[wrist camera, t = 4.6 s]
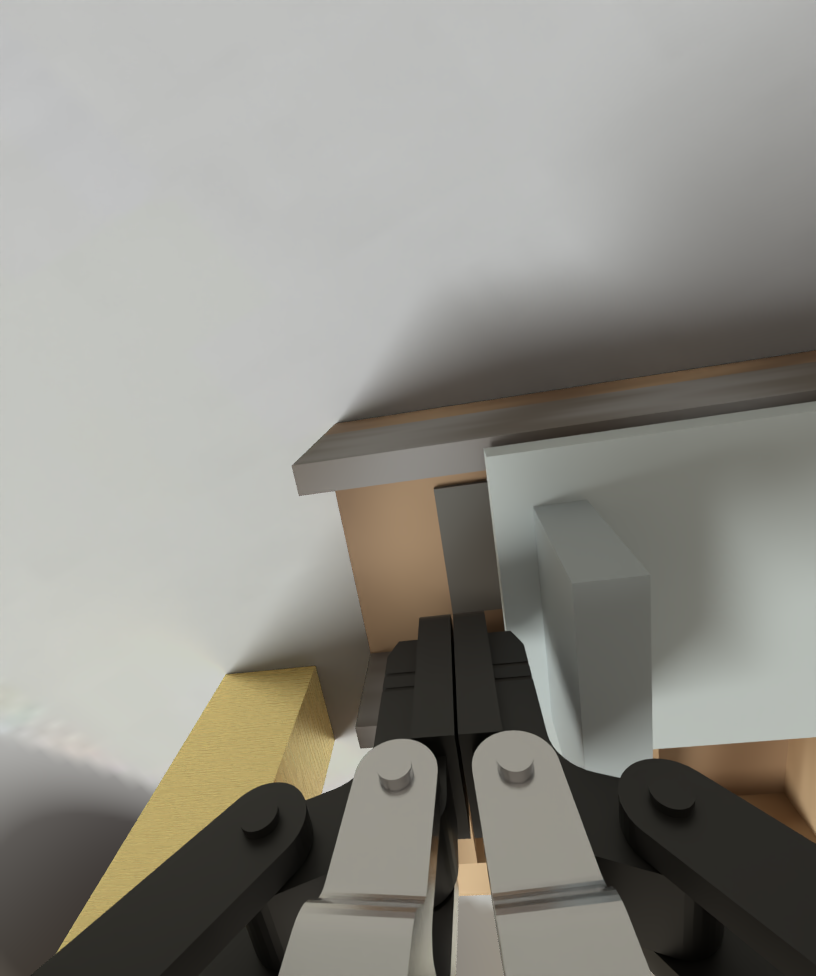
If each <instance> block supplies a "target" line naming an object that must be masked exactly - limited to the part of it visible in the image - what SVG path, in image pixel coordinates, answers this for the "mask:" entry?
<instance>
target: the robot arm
mask: <svg viewBox="0 0 816 976" xmlns="http://www.w3.org/2000/svg"><path fill="white" fill-rule="evenodd" d="M453 630H454V631H453ZM469 806H470V813H471V819H472V826H473V832H474V838H483V844H484V851H485V858H486V864H487V871H488V878H489V885H490V891H491V898H492V904H493V910H494V916H495V923H496V929H497V935H498V942H499V947H500V954H501V960H502V966H503V973H504V976H652V975H651V972H652V973H653V974H654V975H655V976H816V843H814V842H812V841H811V840H809V839H807V838H806V837H804V836H803V835H801V834H799V833H798V832H796V831H794V830H793V829H791V828H789V827H788V826H786V825H785V824H783V823H781V822H780V821H778V820H776V819H775V818H773V817H772V816H770V815H768V814H767V813H765V812H763V811H762V810H760V809H758V808H757V807H755V806H754V805H752V804H750V803H749V802H747V801H745V800H744V799H742V798H740V797H739V796H737V795H736V794H734V793H732V792H731V791H729V790H727V789H726V788H724V787H723V786H721V785H719V784H718V783H716V782H714V781H713V780H711V779H709V778H708V777H706V776H705V775H703V774H701V773H700V772H698V771H696V770H694V769H693V768H691V767H689V766H687V765H684V764H682V763H679V762H676V761H672V760H667V759H656V758H652V759H644V760H641V761H637V762H635V763H633V764H631V765H630V766H629V767H628V768H626V769H625V771H624V772H623V773H622V775H621V777H620V778H619V777H614V776H610V775H605V774H600V773H596V772H592V771H588V770H585V769H583V768H581V767H578V766H576V765H574V764H573V763H571V762H569V761H568V760H567V759H565V758H564V757H563V756H562V755H561V754H559V753H558V752H557V750H556V749H555V748H554V747H553V745H552V743H551V742H550V740H549V737H548V734H547V731H546V727H545V723H544V719H543V715H542V712H541V708H540V704H539V700H538V696H537V693H536V689H535V685H534V681H533V679H532V673H531V670H530V666H529V663H528V658H527V654H526V651H525V647H524V644H523V643H522V642H521V641H520V640H519V639H518V638H517V637H516V636H515V635H514V634H513V633H512V632H511V631H501V632H491V633H487V626H486V620H485V613H484V610H483V611H473V612H464V613H454V614H453V624H452V618H451V614H445V615H435V616H425V617H420V618H419V627H418V640H409V641H399V642H398V643H397V645H396V646H395V647H394V649H393V650H392V652H391V653H390V654H389V656H388V657H387V663H386V670H385V677H384V683H383V692H382V695H381V702H380V708H379V714H378V721H377V727H376V734H375V740H374V746H373V749H372V750H370V751H369V752H368V753H367V754H366V755H365V756H364V757H363V758H362V760H361V761H360V763H359V765H358V766H357V769H356V772H355V775H354V778H353V779H352V780H350V781H349V782H348V783H346V784H344V785H342V786H341V787H338V788H336V789H334V790H331V791H329V792H326V793H323V794H321V795H318V796H315V797H313V798H310V799H307V800H305V798H304V796H303V794H302V793H301V791H300V790H299V789H298V788H296V787H295V786H293V785H291V784H288V783H283V782H273V783H268V784H264V785H261V786H259V787H256V788H254V789H252V790H250V791H249V792H247V793H245V794H244V795H243V796H241V797H240V798H239V799H238V800H236V801H235V802H234V803H233V804H232V805H231V806H229V807H228V808H227V809H226V810H225V811H224V812H222V813H221V814H220V815H219V816H218V817H216V818H215V819H214V820H213V821H212V822H211V823H209V824H208V825H207V826H206V827H205V828H203V829H202V830H201V831H200V832H199V833H198V834H196V835H195V836H194V837H193V838H192V839H191V840H189V841H188V842H187V843H186V844H185V845H183V846H182V847H181V848H180V849H179V850H178V851H176V852H175V853H174V854H173V855H172V856H171V857H169V858H168V859H167V860H166V861H165V862H163V863H162V864H161V865H160V866H159V867H158V868H156V869H155V870H154V871H153V872H152V873H151V874H149V875H148V876H147V877H146V878H145V879H143V880H142V881H141V882H140V883H139V884H138V885H136V886H135V887H134V888H133V889H132V890H130V891H129V892H128V893H127V894H126V895H125V896H123V897H122V898H121V899H120V900H119V901H118V902H116V903H115V904H114V905H113V906H112V907H110V908H109V909H108V910H107V911H106V912H105V913H103V914H102V915H101V916H100V917H99V918H98V919H96V920H95V921H94V922H93V923H92V924H90V925H89V926H88V927H87V928H86V929H85V930H83V931H82V932H81V933H80V934H79V935H78V936H76V937H75V938H74V939H73V940H72V941H70V942H69V943H68V944H67V945H66V946H65V947H63V948H62V949H61V950H60V951H59V952H57V953H56V954H55V955H54V956H53V957H52V958H50V959H49V960H48V961H47V962H46V963H45V964H43V965H42V966H41V967H40V968H39V969H37V970H36V971H35V972H34V973H33V974H32V975H30V976H456V956H457V928H458V900H459V885H458V879H457V877H458V869H459V861H458V839H471V833H470V817H469ZM650 971H651V972H650Z"/></svg>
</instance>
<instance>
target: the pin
mask: <svg viewBox="0 0 816 976" xmlns="http://www.w3.org/2000/svg"><path fill="white" fill-rule="evenodd" d="M334 742H335V739H334V735H333V731H332V727H331V724H330V720H329V716H328V712H327V708H326V704H325V701H324V697H323V693H322V689H321V685H320V681H319V678H318V674H317V670H316V666H308V667H298V668H288V669H277V670H267V671H257V672H247V673H237V674H227V675H225V677H224V678H223V680H222V682H221V683H220V685H219V687H218V688H217V690H216V692H215V693H214V695H213V696H212V698H211V700H210V701H209V703H208V705H207V706H206V708H205V710H204V711H203V713H202V715H201V716H200V718H199V719H198V721H197V723H196V724H195V726H194V728H193V729H192V731H191V733H190V734H189V736H188V738H187V739H186V741H185V742H184V744H183V746H182V747H181V749H180V751H179V752H178V754H177V756H176V757H175V759H174V761H173V762H172V764H171V765H170V767H169V769H168V770H167V772H166V774H165V775H164V777H163V779H162V780H161V782H160V784H159V785H158V787H157V788H156V790H155V792H154V793H153V795H152V797H151V798H150V800H149V802H148V803H147V805H146V807H145V808H144V810H143V811H142V813H141V815H140V817H139V818H138V820H137V821H136V823H135V825H134V826H133V828H132V830H131V831H130V833H129V835H128V836H127V838H126V840H125V841H124V843H123V844H122V846H121V848H120V849H119V851H118V853H117V854H116V856H115V858H114V859H113V861H112V862H111V864H110V866H109V867H108V869H107V871H106V872H105V874H104V876H103V877H102V879H101V880H100V882H99V884H98V886H97V887H96V889H95V890H94V892H93V894H92V895H91V897H90V899H89V900H88V902H87V904H86V905H85V907H84V909H83V910H82V912H81V913H80V915H79V917H78V918H77V920H76V922H75V923H74V925H73V927H72V928H71V930H70V931H69V933H68V935H67V937H66V938H65V940H64V941H63V943H62V945H61V946H60V948H59V950H58V951H57V952H59V951H60V950H61V949H62V948H63V947H65V946H66V945H67V944H68V943H69V942H70V941H72V940H73V939H74V938H75V937H76V936H78V935H79V934H80V933H81V932H82V931H83V930H85V929H86V928H87V927H88V926H89V925H90V924H92V923H93V922H94V921H95V920H96V919H98V918H99V917H100V916H101V915H102V914H103V913H105V912H106V911H107V910H108V909H109V908H110V907H112V906H113V905H114V904H115V903H116V902H118V901H119V900H120V899H121V898H122V897H123V896H125V895H126V894H127V893H128V892H129V891H130V890H132V889H133V888H134V887H135V886H136V885H138V884H139V883H140V882H141V881H142V880H143V879H145V878H146V877H147V876H148V875H149V874H151V873H152V872H153V871H154V870H155V869H156V868H158V867H159V866H160V865H161V864H162V863H163V862H165V861H166V860H167V859H168V858H169V857H171V856H172V855H173V854H174V853H175V852H176V851H178V850H179V849H180V848H181V847H182V846H183V845H185V844H186V843H187V842H188V841H189V840H191V839H192V838H193V837H194V836H195V835H196V834H198V833H199V832H200V831H201V830H202V829H203V828H205V827H206V826H207V825H208V824H209V823H211V822H212V821H213V820H214V819H215V818H216V817H218V816H219V815H220V814H221V813H222V812H224V811H225V810H226V809H227V808H228V807H229V806H231V805H232V804H233V803H234V802H235V801H236V800H238V799H239V798H240V797H241V796H243V795H244V794H245V793H247V792H249V791H250V790H252V789H254V788H256V787H259V786H261V785H264V784H268V783H273V782H283V783H288V784H291V785H293V786H295V787H296V788H298V789H299V790H300V791H301V793H302V794H303V796H304V798H305V800H307V799H310V798H313V797H315V796H318V795H321V793H322V789H323V785H324V781H325V777H326V773H327V769H328V765H329V761H330V757H331V753H332V750H333V746H334Z"/></svg>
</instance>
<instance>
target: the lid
mask: <svg viewBox="0 0 816 976" xmlns="http://www.w3.org/2000/svg"><path fill="white" fill-rule="evenodd" d="M483 449H484V458H485V466H486V475H487V483H488V491H489V500H490V508H491V517H492V525H493V534H494V542H495V550H496V559H497V567H498V576H499V584H500V593H501V601H502V609H503V618H504V626H505V631H511V632H512V633H513V634H514V635H515V636H516V637H517V638H518V639H519V640H520V641H521V642H522V643H523V644H524V647H525V651H526V654H527V658H528V663H529V666H530V670H531V673H532V679H533V681H534V685H535V689H536V693H537V696H538V700H539V704H540V708H541V712H542V715H543V719H544V723H545V727H546V731H547V734H548V737H549V740H550V742H551V743H552V745H553V747H554V748H555V749H556V750H557V752H558V753H559V754H561V755H562V756H563V757H564V758H565V759H567V760H568V761H569V762H571V763H573V764H574V765H576V766H578V767H581V768H583V769H585V770H588V771H592V772H596V773H600V774H605V775H610V776H614V777H619V778H620V777H621V775H622V773H623V772H624V771H625V769H626V768H628V767H629V766H630V765H631V764H633V763H635V762H637V761H641V760H644V759H652V758H653V749H664V748H677V747H691V746H704V745H717V744H731V743H744V742H758V741H771V740H784V739H798V738H811V737H816V401H813V402H806V403H799V404H792V405H785V406H778V407H771V408H764V409H757V410H750V411H743V412H736V413H729V414H722V415H715V416H708V417H701V418H694V419H687V420H680V421H673V422H666V423H659V424H652V425H645V426H638V427H631V428H624V429H616V430H609V431H602V432H595V433H588V434H581V435H574V436H567V437H560V438H553V439H546V440H539V441H532V442H525V443H518V444H511V445H504V446H497V447H490V448H483Z"/></svg>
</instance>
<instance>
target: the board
mask: <svg viewBox="0 0 816 976" xmlns="http://www.w3.org/2000/svg"><path fill="white" fill-rule="evenodd" d="M813 401H816V350H814V351H808V352H801V353H795V354H788V355H782V356H775V357H769V358H762V359H755V360H749V361H742V362H736V363H729V364H723V365H716V366H709V367H703V368H696V369H690V370H683V371H677V372H670V373H664V374H657V375H650V376H644V377H637V378H631V379H624V380H618V381H611V382H605V383H598V384H591V385H585V386H578V387H572V388H565V389H559V390H552V391H546V392H539V393H532V394H526V395H519V396H513V397H506V398H500V399H493V400H487V401H480V402H473V403H467V404H460V405H454V406H447V407H441V408H434V409H428V410H421V411H414V412H408V413H401V414H395V415H388V416H382V417H375V418H369V419H362V420H355V421H349V422H342V423H336V424H335V425H334V426H333V427H332V428H330V429H329V430H328V431H327V432H326V433H325V434H324V435H323V436H322V437H321V438H320V439H319V440H318V441H317V442H316V443H315V444H314V445H313V446H312V447H311V448H310V449H309V450H308V451H307V452H306V453H305V454H303V455H302V456H301V457H300V458H299V459H298V460H297V461H296V462H295V463H294V464H293V465H292V469H293V473H294V477H295V481H296V485H297V490H298V494H299V496H302V495H309V494H316V493H324V492H331V491H335V492H336V497H337V502H338V506H339V511H340V515H341V520H342V524H343V529H344V534H345V538H346V543H347V547H348V552H349V556H350V561H351V566H352V570H353V575H354V579H355V584H356V588H357V593H358V598H359V602H360V607H361V611H362V616H363V620H364V625H365V630H366V634H367V639H368V643H369V648H370V653H371V654H370V659H369V664H368V669H367V674H366V678H365V683H364V688H363V693H362V698H361V703H360V707H359V712H358V717H357V722H356V727H355V728H356V732H357V737H358V741H359V745H360V748H372V747H373V746H374V740H375V734H376V727H377V721H378V714H379V708H380V702H381V695H382V692H383V683H384V677H385V670H386V663H387V657H388V656H389V654H390V653H391V652H392V650H393V649H394V647H395V646H396V645H397V643H398V642H399V641H409V640H418V627H419V618H420V617H425V616H435V615H445V614H451V618H452V624H453V614H454V613H464V612H473V611H483V610H484V613H485V620H486V626H487V633H491V632H501V631H505V626H504V618H503V609H502V601H501V593H500V584H499V576H498V567H497V559H496V550H495V542H494V534H493V525H492V517H491V508H490V500H489V491H488V483H487V475H486V466H485V458H484V449H483V448H490V447H497V446H504V445H511V444H518V443H525V442H532V441H539V440H546V439H553V438H560V437H567V436H574V435H581V434H588V433H595V432H602V431H609V430H616V429H624V428H631V427H638V426H645V425H652V424H659V423H666V422H673V421H680V420H687V419H694V418H701V417H708V416H715V415H722V414H729V413H736V412H743V411H750V410H757V409H764V408H771V407H778V406H785V405H792V404H799V403H806V402H813ZM453 631H454V630H453ZM653 758H656V759H667V760H672V761H676V762H679V763H682V764H684V765H687V766H689V767H691V768H693V769H694V770H696V771H698V772H700V773H701V774H703V775H705V776H706V777H708V778H709V779H711V780H713V781H714V782H716V783H718V784H719V785H721V786H723V787H724V788H726V789H727V790H729V791H731V792H732V793H734V794H736V795H737V796H739V797H740V798H742V799H744V800H745V801H747V802H749V803H750V804H752V805H754V806H755V807H757V808H758V809H760V810H762V811H763V812H765V813H767V814H768V815H770V816H772V817H773V818H775V819H776V820H778V821H780V822H781V823H783V824H785V825H786V826H788V827H789V828H791V829H793V830H794V831H796V832H798V833H799V834H801V835H803V836H804V837H806V838H807V839H809V840H811V841H812V842H814V843H816V737H811V738H798V739H784V740H771V741H758V742H744V743H731V744H717V745H704V746H691V747H677V748H664V749H653ZM469 817H470V833H471V839H458V861H459V869H458V877H457V879H458V885H459V896H469V895H491V891H490V885H489V878H488V871H487V864H486V858H485V851H484V844H483V838H474V832H473V826H472V819H471V813H470V806H469Z"/></svg>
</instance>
